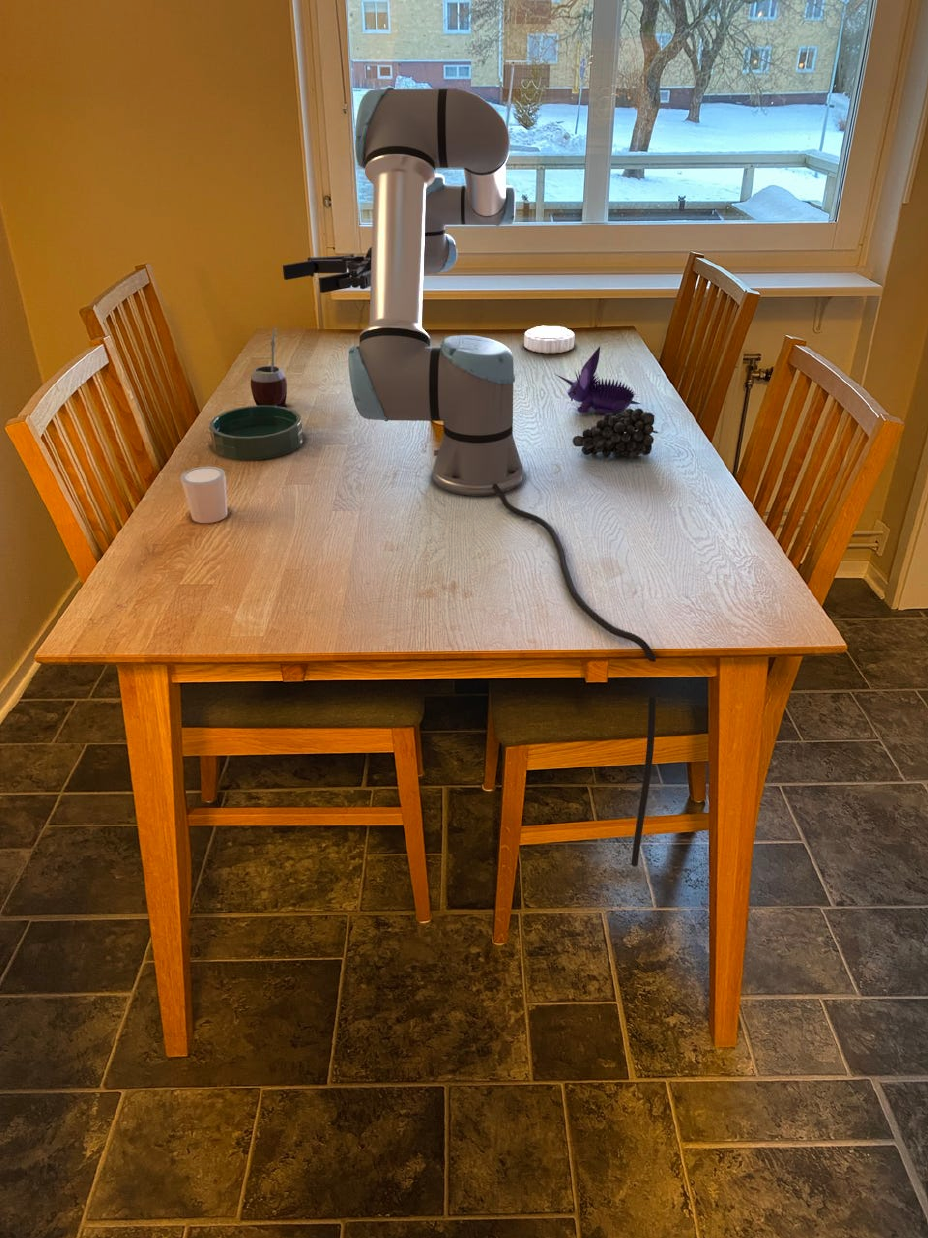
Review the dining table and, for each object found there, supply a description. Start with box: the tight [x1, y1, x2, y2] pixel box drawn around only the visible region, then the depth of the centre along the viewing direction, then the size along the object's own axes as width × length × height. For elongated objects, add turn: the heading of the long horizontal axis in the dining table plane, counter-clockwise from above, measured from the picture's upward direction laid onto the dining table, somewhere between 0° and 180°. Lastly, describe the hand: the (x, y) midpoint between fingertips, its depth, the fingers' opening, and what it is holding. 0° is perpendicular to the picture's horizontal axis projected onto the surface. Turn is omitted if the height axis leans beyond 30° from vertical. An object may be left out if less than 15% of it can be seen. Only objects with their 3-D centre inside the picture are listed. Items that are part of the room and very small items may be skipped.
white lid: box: [523, 325, 576, 354], centre depth 222 cm, size 12×12×4 cm
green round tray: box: [209, 405, 304, 461], centre depth 173 cm, size 17×17×4 cm
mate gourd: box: [250, 326, 288, 408], centre depth 186 cm, size 8×8×15 cm
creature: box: [554, 345, 642, 415], centre depth 184 cm, size 9×18×12 cm, turn 80°
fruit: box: [572, 408, 659, 459], centre depth 167 cm, size 9×8×15 cm
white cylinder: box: [179, 466, 229, 524], centre depth 147 cm, size 7×7×7 cm
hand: (301, 278), depth 182 cm, fingers open, 13 cm apart
